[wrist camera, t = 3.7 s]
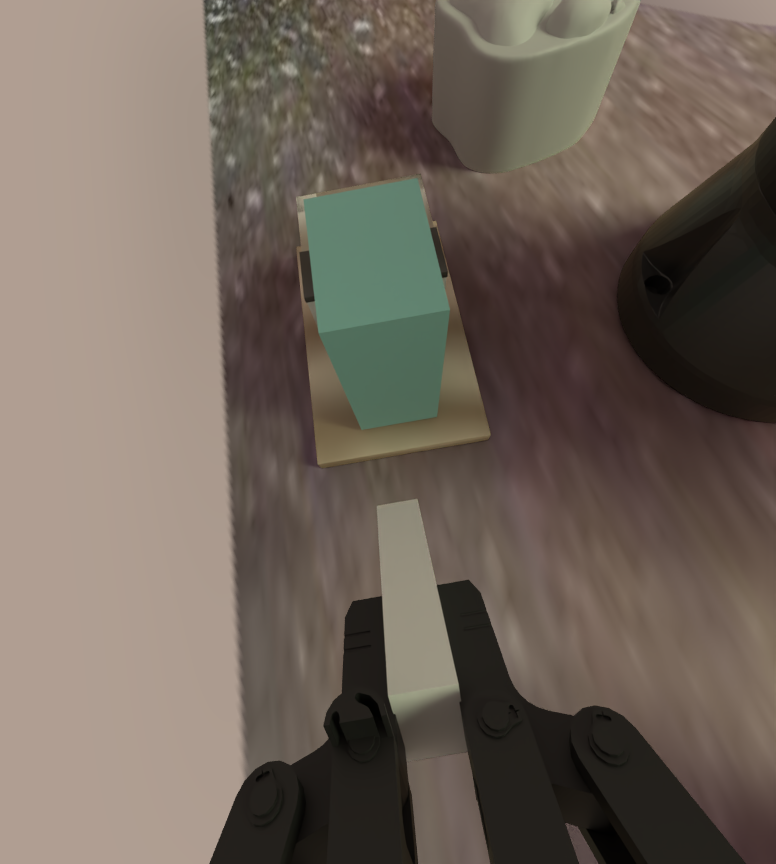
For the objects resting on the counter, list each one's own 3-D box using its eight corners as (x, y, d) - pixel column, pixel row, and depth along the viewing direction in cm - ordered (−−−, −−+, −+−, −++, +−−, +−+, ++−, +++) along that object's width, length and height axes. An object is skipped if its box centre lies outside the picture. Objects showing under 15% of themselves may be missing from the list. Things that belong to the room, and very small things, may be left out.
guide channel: (487, 439, 23) (510, 400, 17) (321, 468, 23) (290, 438, 17) (435, 232, 28) (439, 150, 22) (300, 257, 28) (270, 182, 23)
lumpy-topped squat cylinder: (419, 106, 32) (418, -48, 24) (555, 52, 33) (599, -115, 25) (478, 187, 29) (501, 40, 21) (628, 124, 30) (707, -40, 22)
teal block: (436, 416, 22) (450, 309, 13) (361, 430, 22) (318, 333, 13) (418, 328, 24) (417, 178, 15) (349, 340, 24) (303, 199, 15)
